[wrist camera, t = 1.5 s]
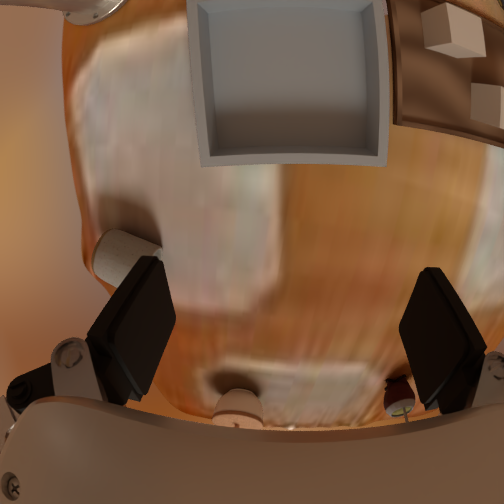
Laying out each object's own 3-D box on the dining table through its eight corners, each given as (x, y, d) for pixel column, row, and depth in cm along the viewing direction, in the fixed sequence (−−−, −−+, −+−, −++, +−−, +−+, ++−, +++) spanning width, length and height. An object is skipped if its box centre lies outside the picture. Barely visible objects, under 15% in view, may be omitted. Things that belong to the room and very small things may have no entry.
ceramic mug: (115, 216, 35) (85, 245, 29) (166, 236, 36) (143, 270, 30) (111, 271, 41) (88, 302, 35) (156, 290, 42) (137, 325, 36)
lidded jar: (268, 405, 58) (265, 440, 50) (224, 404, 60) (218, 437, 52) (262, 382, 53) (258, 422, 45) (212, 382, 55) (203, 419, 47)
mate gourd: (393, 391, 53) (403, 446, 40) (371, 386, 52) (380, 446, 39) (416, 375, 49) (431, 432, 36) (395, 368, 48) (410, 431, 35)
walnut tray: (383, -15, 16) (386, -18, 15) (505, 33, 14) (510, 33, 13) (393, 123, 26) (397, 125, 25) (508, 149, 23) (513, 151, 22)
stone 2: (470, 82, 20) (500, 86, 15) (495, 92, 19) (525, 98, 14) (470, 118, 23) (499, 127, 17) (494, 126, 22) (523, 136, 17)
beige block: (420, 13, 17) (445, 2, 12) (453, 24, 16) (480, 18, 11) (424, 48, 19) (451, 42, 14) (457, 58, 19) (486, 56, 14)
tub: (200, 9, 21) (186, -4, 17) (367, 8, 19) (381, -5, 14) (212, 156, 30) (200, 167, 26) (371, 155, 28) (386, 167, 24)
